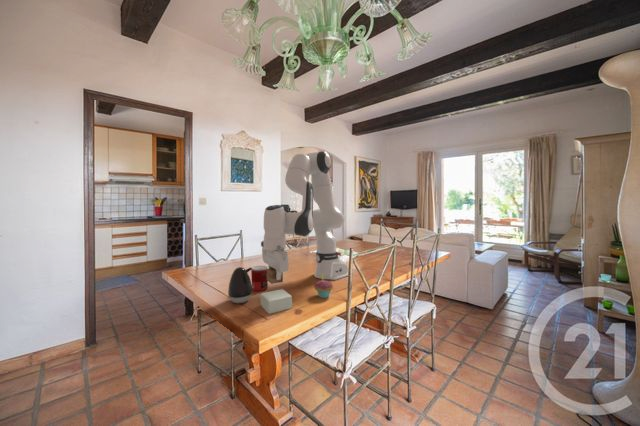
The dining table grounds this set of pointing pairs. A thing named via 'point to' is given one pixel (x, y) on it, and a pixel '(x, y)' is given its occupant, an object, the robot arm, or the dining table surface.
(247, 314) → the dining table surface
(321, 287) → the cupcake
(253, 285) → the canned food
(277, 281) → the walnut cube
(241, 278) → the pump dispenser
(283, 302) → the pedestal
